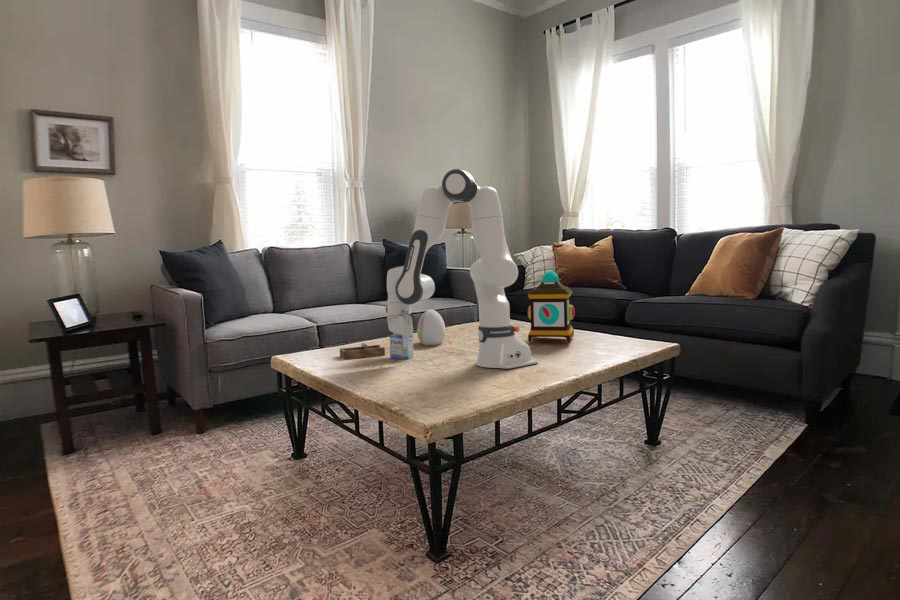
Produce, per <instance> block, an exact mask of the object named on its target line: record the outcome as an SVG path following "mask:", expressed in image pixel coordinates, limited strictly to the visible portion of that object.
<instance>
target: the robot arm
mask: <svg viewBox="0 0 900 600" xmlns="http://www.w3.org/2000/svg"><path fill="white" fill-rule="evenodd" d="M463 203H466V204H467V205H468V207H469V209H470V210H469V211H470V217H471V218H470V219H471V225H472V235H473V236H472V237H473V241H474V242H473V243H474V244H475V246H476V248H477V249H478V252H479V256H480V258H478V259H476V260H475V261H473V263H472V264H471V266H470V269H469V275H470V278H471V280H472V281H473V285H474V289H475V295H476V298H477V303H478V317H479V318H478V320H479V323H478V325H479V326H478V327H477V329H478V335H477V336H478V344H479V345H478V353H477V354H478V355H477V360H476V363H475V364H476V365H477V366H478V367H481V368H482V367H483V368H490V369H491V368H492V369H494V368H495V369H504V370H505V369H506V370H507V369H508V370H509V369H513V368H519V367H523V366H530V365H533V364H538V363H539V360H538V359H537V358H535V357H533V356H532V351H531V348H530V345H529V343H527V342H525V341H524V340H522V339H520V338H519V337H518V336H517V335H516V334H515V332H516V333H519V332H520V331H521V329H520V327H519V326H517V325H515V326H513V325H511V318H510V317H511V316H510V315H511V313H510V311H511V308H510V307H511V306H510V302H509V300H508V298H507V296H506V293H505V288H507V287H510V286H511V285H513V284H514V283H515V282H516V281H517V279H518V277H519V269H518V265H517V264H516V263H515V261H514V260H513V257H512V255H511V252H510V249H509V246H508V244H507V240H506V234H505V226H504V217H503V211H502V210H503V209H502V204H501V201H500V197H499V194H498V191H497V190H496V189H495V188H494V187H493V186H489V185H482V186H479V185H478V183H477V181H476V179H475V178H474V176H473V175H472V174H471V173H470V172H469V171H467V170H464V169H461V168H454V169H453V168H452V169H449V171H447V172H446V174H444V176H443V177H442V180H441V185H439V186H438V185H431V186H430V185H429V186H428V187H426V188H424V189H423V192H422V193H421V197H420V199H419V203H418V206H417V211H416V217H415V218H416V219H415V223H414V226H413V227H414V228H413V231H412V235H411V238H410V241H409V245H408V248H407V253H406V256H405V259H404V260H405V261H404V265H399V266H394V267H391V268H390V269H388V271H387V274H386V292H387V305H386V307H385V313H386V320H387V327H388V328H387V329H388V331H390V332H391V333H392V335H401V336H402V339H403V343H402V347H403V348H407V347H408V340H409V336H414V325H413V317H412V316H411V315H410V314H412V305H413V304H415V303H418V302H423V301H426V300H428V299H429V298H431V297H433V295H434V293H435V291H436V284H435V281H434V279H433V278H432V277H431V276H430V275H427V274H424V273H422V269H423V266H424V261H425V257H426V254H427V252H428V251H429V249H430V248H431V247H432V246H433V245H434V244H435V243H438V242H439V241H440V240H441V238H442V237H443V235H444V233H445V231H446V230H445V229H446V227H447V221H448V215H449V214H448V213H449V210H450V207H451V205H454V204H463ZM476 365H475V366H476Z"/></svg>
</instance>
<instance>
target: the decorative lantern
mask: <svg viewBox="0 0 900 600" xmlns="http://www.w3.org/2000/svg"><path fill="white" fill-rule="evenodd" d="M559 279H560V278H559V276H558V274H557V273H556V272H555V271H554V270H548V271H546V272H545V273H544V274H542V277H541V282H540V284H539V285H538V286H536V287H535V288H532V289H531V290H530V291H529V292H528V293H527V297H528V299H529V301H530V303H529V304H530V305H529V306H528V307H527V318H528V319H529V320H530V330H529V332H528V334H527V340H528V344H532V342H533V338H538V337H539V338H565V339H566V343H567V344H568V345H569V344H571V339H573V338H574V336H575V333H574V328H573V326H572V322H571V321H572V320H574V319H575V315H576V312H575V307H574V305H573V304H571V296H572V294H573V290H572V289H571V288H569V286H565V284H562V283H561V282H560V280H559Z"/></svg>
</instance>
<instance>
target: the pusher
mask: <svg viewBox="0 0 900 600" xmlns="http://www.w3.org/2000/svg"><path fill="white" fill-rule="evenodd" d="M367 346H368V344H366V343H365V342H363V343H361V347H362V349H367Z"/></svg>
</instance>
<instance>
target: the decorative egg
mask: <svg viewBox="0 0 900 600" xmlns="http://www.w3.org/2000/svg"><path fill="white" fill-rule="evenodd" d="M417 323H418V324H417V330H416V332H417V338H418V340H419V342H420V343H421V345H423V346H428V345H433V346H439V345H441V344H442V343H443V342H444V340H445V337H446V335H447V334H446V332H447V331H446V325H445V322H444V319H443V317H442V316H441V314H440V313H438V312H437V310H435V309H427V310H426V311H425V312H424V313H422V315H421V316H420V318H419V320H418V322H417Z"/></svg>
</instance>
